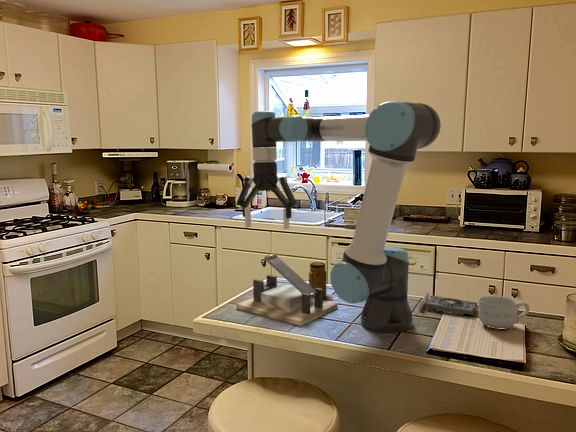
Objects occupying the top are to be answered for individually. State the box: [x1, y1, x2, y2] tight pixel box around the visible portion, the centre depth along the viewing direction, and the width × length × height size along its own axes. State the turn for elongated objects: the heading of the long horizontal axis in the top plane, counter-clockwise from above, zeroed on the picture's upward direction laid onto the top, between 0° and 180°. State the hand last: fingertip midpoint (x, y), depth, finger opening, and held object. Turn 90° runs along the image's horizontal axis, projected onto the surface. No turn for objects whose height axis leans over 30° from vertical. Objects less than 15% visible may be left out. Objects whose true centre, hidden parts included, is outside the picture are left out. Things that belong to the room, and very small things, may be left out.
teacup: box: [477, 295, 530, 329], centre depth 148 cm, size 14×11×8 cm
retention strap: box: [263, 253, 319, 299], centre depth 163 cm, size 21×5×2 cm, turn 52°
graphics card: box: [418, 292, 478, 316], centre depth 162 cm, size 17×4×12 cm
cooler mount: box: [236, 274, 339, 327], centre depth 165 cm, size 26×20×8 cm
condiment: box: [308, 261, 333, 301], centre depth 176 cm, size 7×8×12 cm
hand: (267, 227), depth 164 cm, fingers open, 13 cm apart
